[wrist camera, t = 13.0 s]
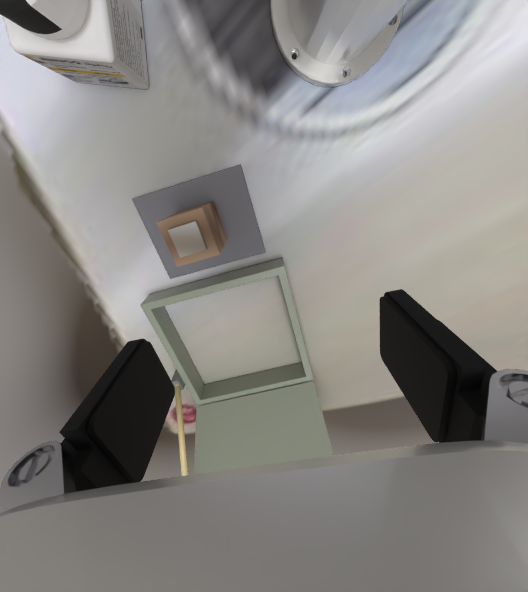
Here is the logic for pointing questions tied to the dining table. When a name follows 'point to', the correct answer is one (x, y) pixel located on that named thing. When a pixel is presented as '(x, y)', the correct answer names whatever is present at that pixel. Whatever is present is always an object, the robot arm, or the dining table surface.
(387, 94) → the dining table surface
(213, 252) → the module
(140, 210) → the mat
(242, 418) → the case
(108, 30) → the container
